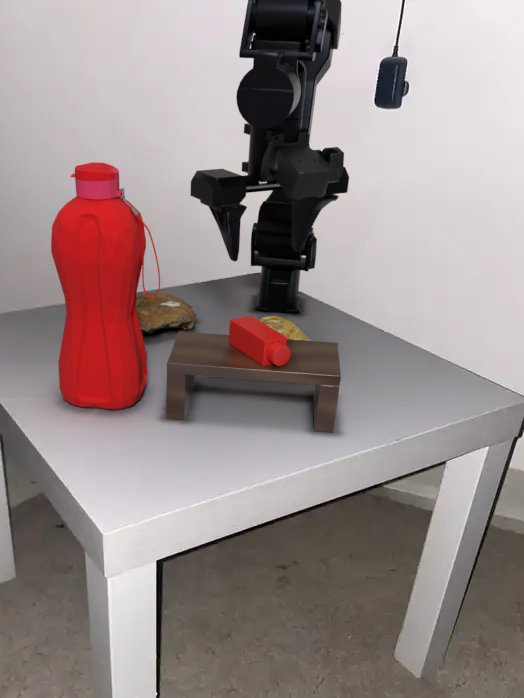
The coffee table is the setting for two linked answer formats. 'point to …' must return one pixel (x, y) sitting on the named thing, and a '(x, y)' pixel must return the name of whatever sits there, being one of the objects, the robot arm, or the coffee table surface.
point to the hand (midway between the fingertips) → (265, 256)
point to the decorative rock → (163, 312)
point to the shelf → (253, 371)
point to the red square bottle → (259, 341)
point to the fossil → (284, 327)
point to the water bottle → (100, 291)
